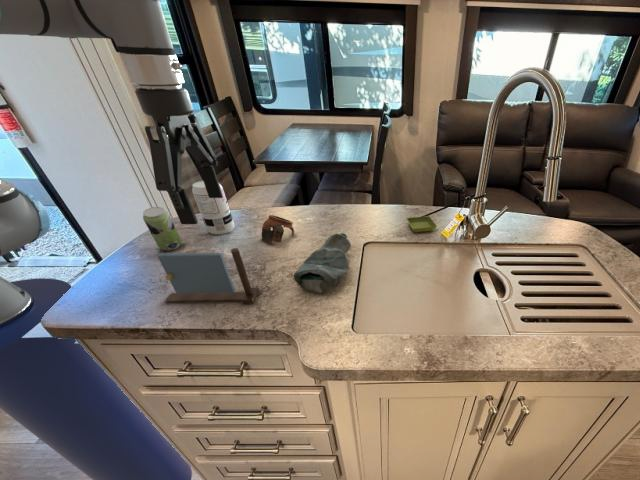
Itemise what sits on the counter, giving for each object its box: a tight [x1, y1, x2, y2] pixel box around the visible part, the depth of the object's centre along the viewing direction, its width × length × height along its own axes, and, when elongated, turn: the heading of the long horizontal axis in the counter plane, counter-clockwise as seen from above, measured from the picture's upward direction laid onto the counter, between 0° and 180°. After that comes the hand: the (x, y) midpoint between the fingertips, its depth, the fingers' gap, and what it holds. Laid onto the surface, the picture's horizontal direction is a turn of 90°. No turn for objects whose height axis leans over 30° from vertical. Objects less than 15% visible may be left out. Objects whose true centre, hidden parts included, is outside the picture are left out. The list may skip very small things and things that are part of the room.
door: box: [157, 252, 236, 293], centre depth 71 cm, size 13×2×10 cm, turn 94°
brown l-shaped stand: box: [165, 247, 260, 305], centre depth 72 cm, size 20×5×13 cm, turn 94°
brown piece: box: [261, 214, 295, 245], centre depth 99 cm, size 12×10×8 cm
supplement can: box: [191, 180, 235, 236], centre depth 100 cm, size 8×8×15 cm
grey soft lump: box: [293, 233, 352, 294], centre depth 85 cm, size 13×7×25 cm
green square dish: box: [406, 215, 438, 233], centre depth 109 cm, size 9×9×2 cm
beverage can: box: [142, 206, 183, 251], centre depth 91 cm, size 6×7×12 cm
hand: (204, 209), depth 66 cm, fingers open, 13 cm apart
